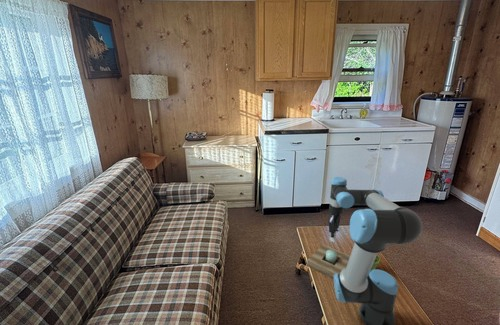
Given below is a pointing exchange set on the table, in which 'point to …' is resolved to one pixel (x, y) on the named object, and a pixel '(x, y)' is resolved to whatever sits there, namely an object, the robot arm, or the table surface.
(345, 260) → the dock
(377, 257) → the plant pot
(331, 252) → the pale mint egg
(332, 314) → the table surface
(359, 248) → the robot arm
